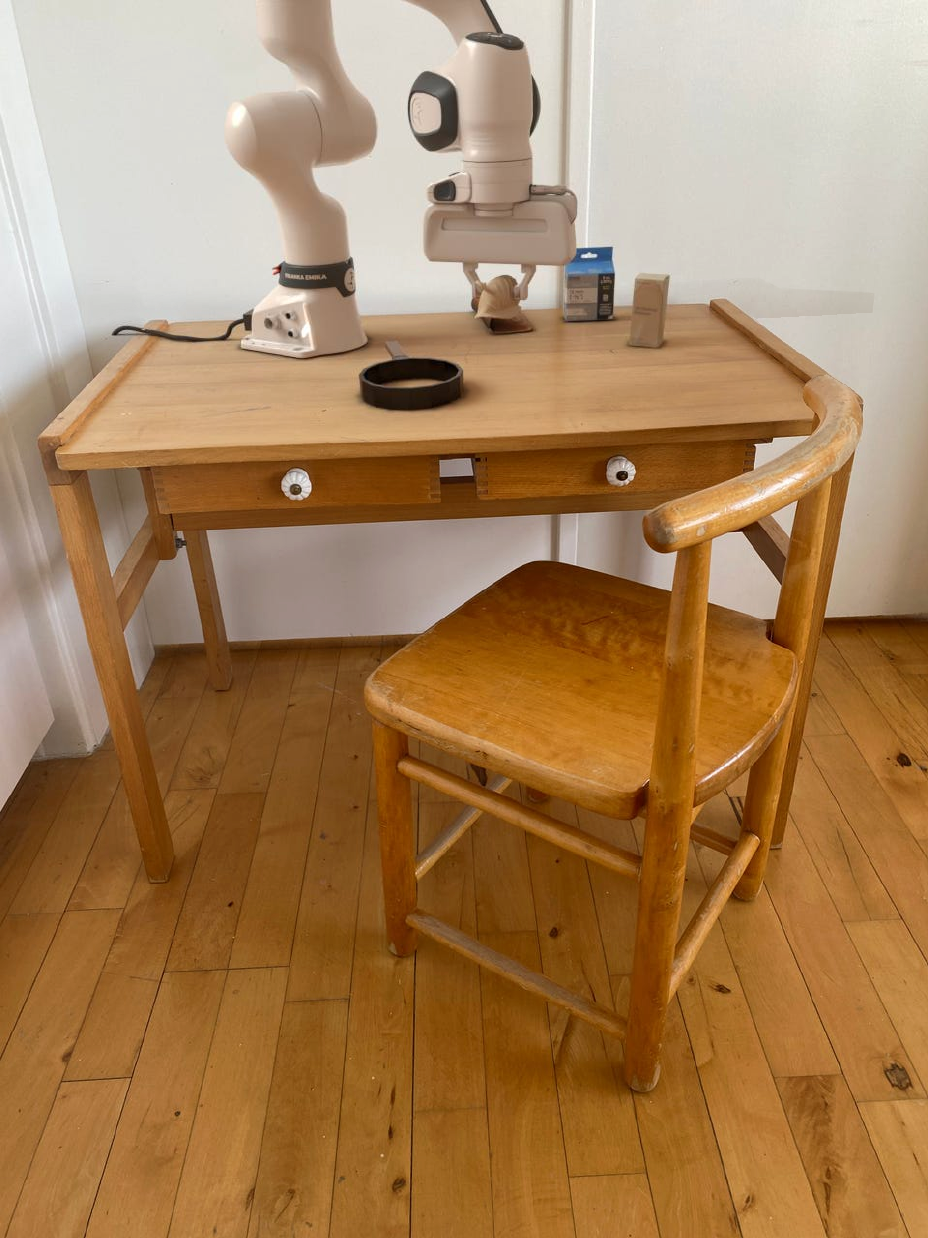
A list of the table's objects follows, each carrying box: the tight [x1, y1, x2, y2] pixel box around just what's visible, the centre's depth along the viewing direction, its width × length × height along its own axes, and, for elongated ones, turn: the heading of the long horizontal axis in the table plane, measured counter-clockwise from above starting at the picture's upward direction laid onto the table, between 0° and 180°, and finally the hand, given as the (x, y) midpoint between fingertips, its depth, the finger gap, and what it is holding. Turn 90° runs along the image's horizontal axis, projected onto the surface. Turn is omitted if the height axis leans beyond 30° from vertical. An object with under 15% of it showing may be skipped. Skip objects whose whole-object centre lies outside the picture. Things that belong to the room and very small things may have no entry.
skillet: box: [358, 340, 465, 411], centre depth 142 cm, size 26×15×3 cm, turn 14°
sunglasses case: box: [470, 297, 533, 335], centre depth 172 cm, size 18×7×7 cm
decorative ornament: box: [473, 274, 522, 319], centre depth 123 cm, size 4×8×5 cm, turn 131°
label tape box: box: [563, 246, 616, 322], centre depth 169 cm, size 9×4×12 cm, turn 90°
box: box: [628, 272, 671, 349], centre depth 154 cm, size 5×4×11 cm
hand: (499, 298), depth 123 cm, fingers closed on decorative ornament, 4 cm apart
